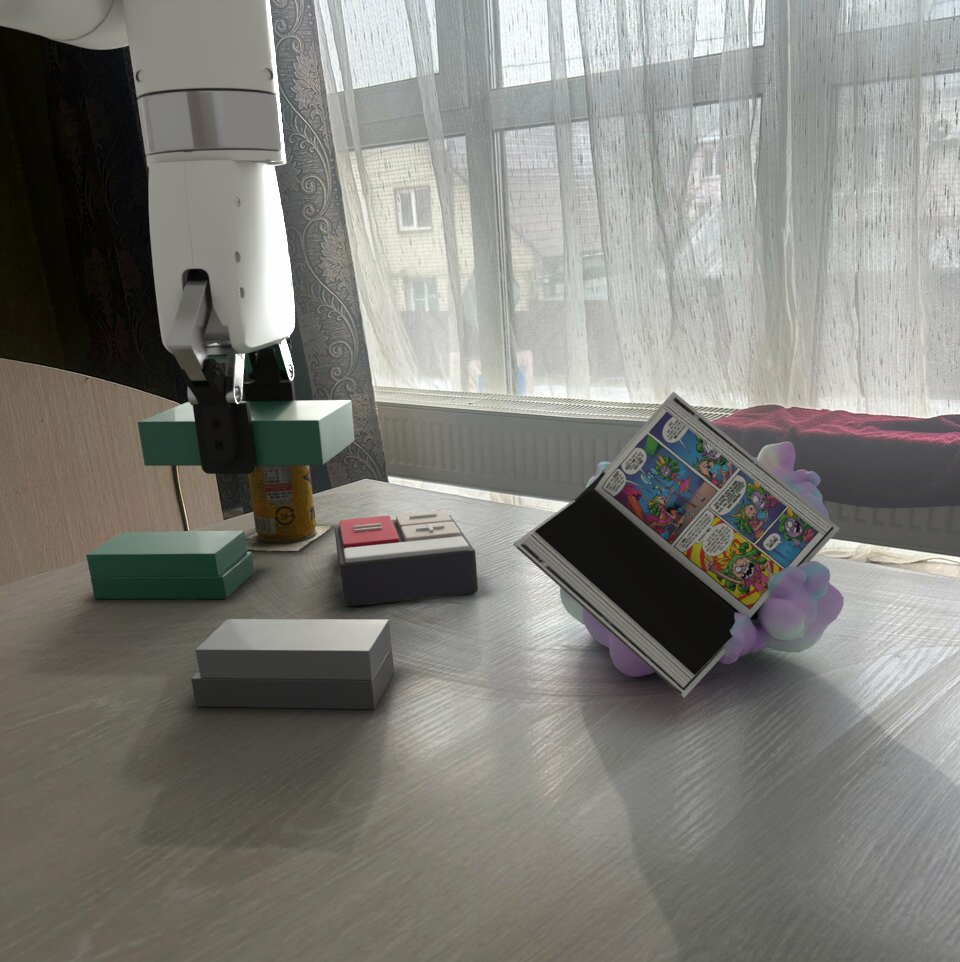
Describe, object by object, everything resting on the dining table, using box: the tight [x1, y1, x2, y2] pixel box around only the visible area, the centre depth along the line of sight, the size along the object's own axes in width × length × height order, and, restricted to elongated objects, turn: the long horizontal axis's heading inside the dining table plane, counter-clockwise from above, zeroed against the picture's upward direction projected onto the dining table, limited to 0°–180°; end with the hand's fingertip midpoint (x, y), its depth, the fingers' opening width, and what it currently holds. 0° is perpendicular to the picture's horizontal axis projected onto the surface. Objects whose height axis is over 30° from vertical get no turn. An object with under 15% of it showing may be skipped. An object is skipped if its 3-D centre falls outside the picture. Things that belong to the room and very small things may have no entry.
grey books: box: [190, 618, 395, 710], centre depth 66 cm, size 12×6×4 cm, turn 82°
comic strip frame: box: [512, 391, 845, 698], centre depth 67 cm, size 20×22×18 cm
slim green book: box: [137, 399, 356, 467], centre depth 61 cm, size 11×7×3 cm, turn 81°
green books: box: [85, 530, 256, 600], centre depth 88 cm, size 12×7×4 cm, turn 82°
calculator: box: [334, 509, 479, 607], centre depth 88 cm, size 11×4×15 cm
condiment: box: [245, 465, 332, 553], centre depth 98 cm, size 7×8×12 cm
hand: (253, 455), depth 62 cm, fingers closed on slim green book, 7 cm apart
